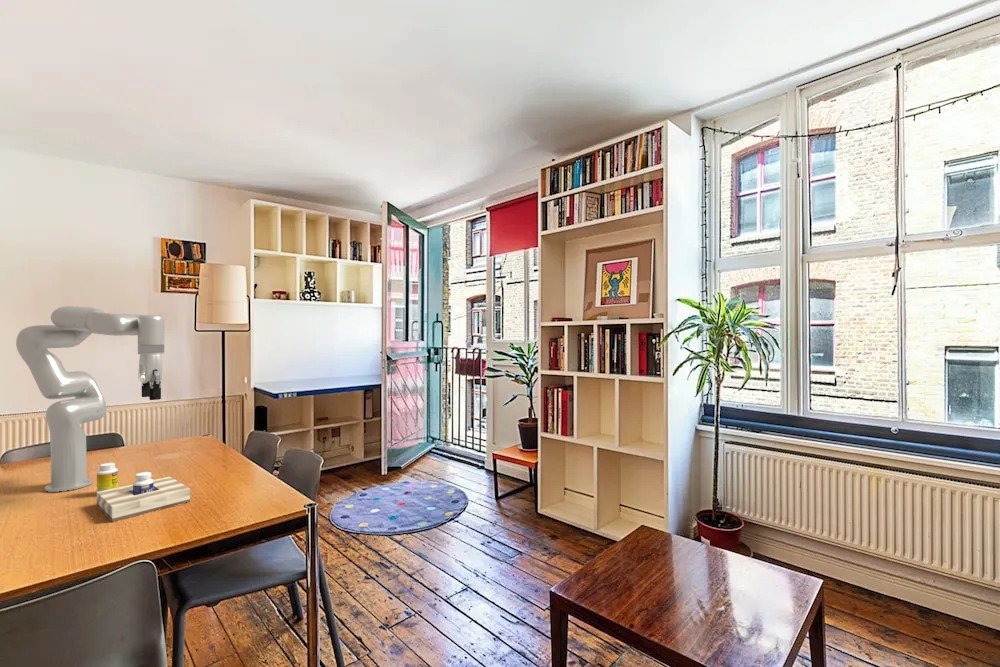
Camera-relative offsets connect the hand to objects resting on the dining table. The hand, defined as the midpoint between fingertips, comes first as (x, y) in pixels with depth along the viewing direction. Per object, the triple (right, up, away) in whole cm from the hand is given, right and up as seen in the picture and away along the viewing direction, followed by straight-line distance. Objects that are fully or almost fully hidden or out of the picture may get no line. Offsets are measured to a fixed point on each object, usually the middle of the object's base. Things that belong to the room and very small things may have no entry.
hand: (151, 398), depth 163 cm
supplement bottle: (-13, -33, -3) cm, 36 cm away
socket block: (+7, -33, -13) cm, 36 cm away
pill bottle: (+7, -32, -12) cm, 35 cm away
